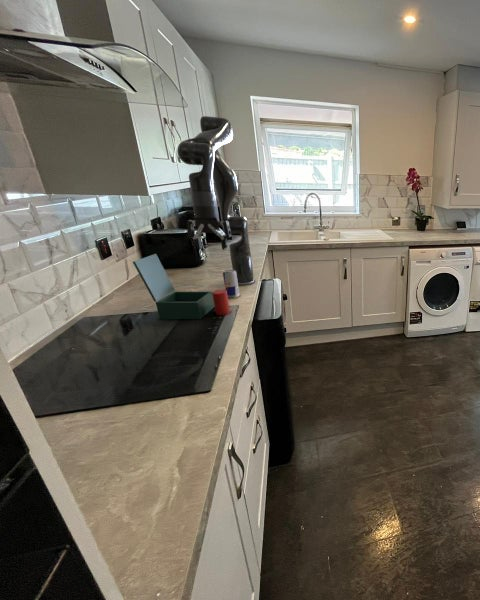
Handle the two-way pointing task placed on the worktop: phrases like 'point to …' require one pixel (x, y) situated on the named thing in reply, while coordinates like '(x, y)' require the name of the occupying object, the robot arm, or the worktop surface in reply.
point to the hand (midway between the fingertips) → (212, 249)
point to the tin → (221, 302)
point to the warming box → (185, 305)
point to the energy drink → (231, 283)
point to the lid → (154, 276)
